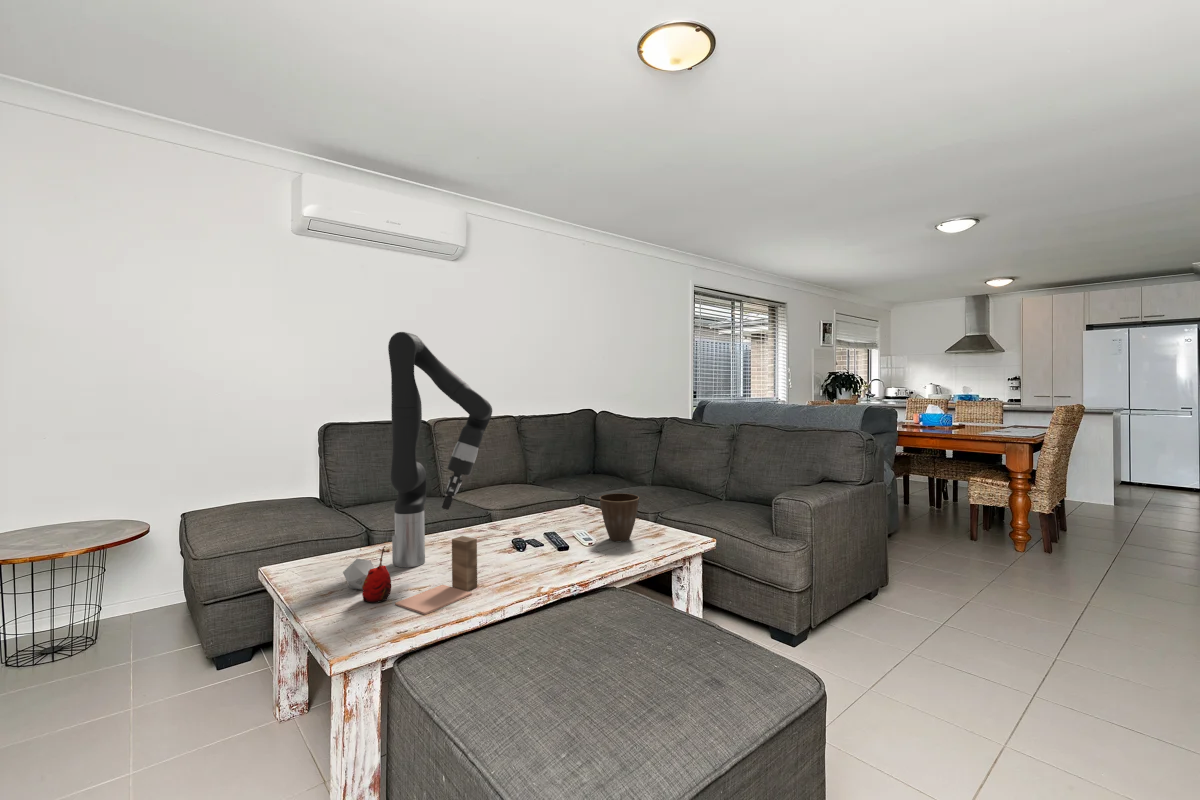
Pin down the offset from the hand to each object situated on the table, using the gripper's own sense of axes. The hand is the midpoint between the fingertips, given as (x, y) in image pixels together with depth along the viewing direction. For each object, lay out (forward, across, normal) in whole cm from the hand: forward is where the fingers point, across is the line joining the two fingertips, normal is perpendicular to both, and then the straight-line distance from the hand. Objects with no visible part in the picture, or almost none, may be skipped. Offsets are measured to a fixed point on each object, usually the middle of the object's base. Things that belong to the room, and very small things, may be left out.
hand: (445, 507), depth 173 cm
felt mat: (+22, +21, +6) cm, 31 cm away
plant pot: (-4, -24, +64) cm, 68 cm away
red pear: (+27, +18, -8) cm, 33 cm away
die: (+28, +7, -15) cm, 32 cm away
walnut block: (+18, +14, +13) cm, 26 cm away
